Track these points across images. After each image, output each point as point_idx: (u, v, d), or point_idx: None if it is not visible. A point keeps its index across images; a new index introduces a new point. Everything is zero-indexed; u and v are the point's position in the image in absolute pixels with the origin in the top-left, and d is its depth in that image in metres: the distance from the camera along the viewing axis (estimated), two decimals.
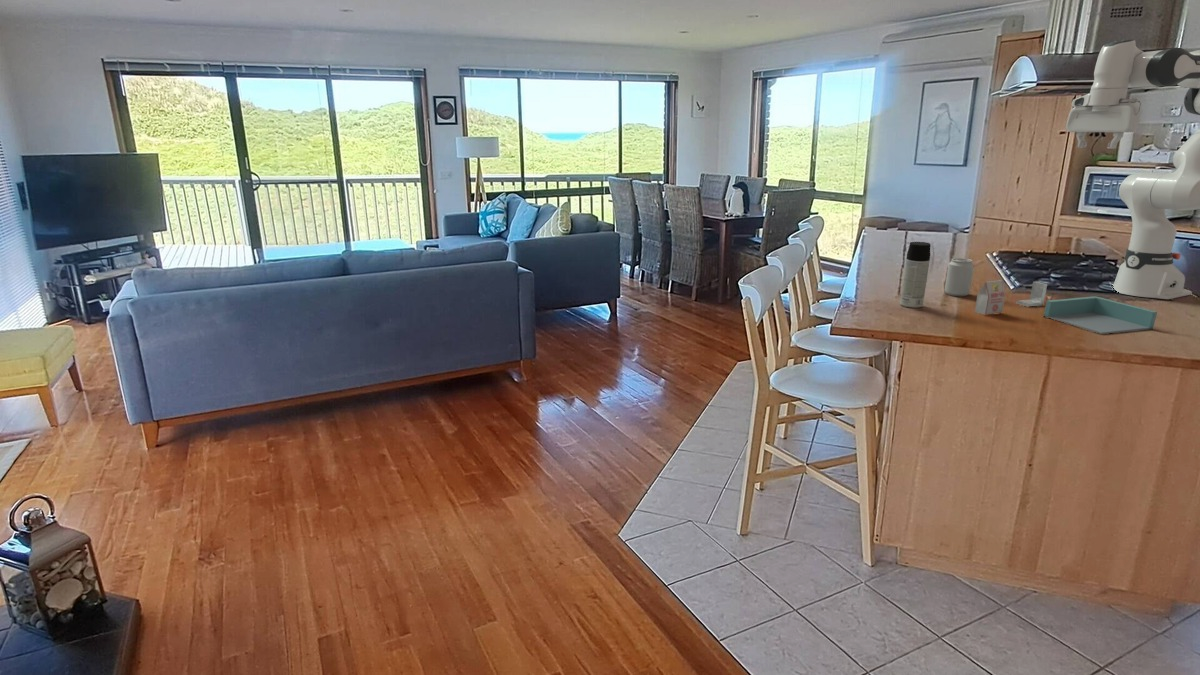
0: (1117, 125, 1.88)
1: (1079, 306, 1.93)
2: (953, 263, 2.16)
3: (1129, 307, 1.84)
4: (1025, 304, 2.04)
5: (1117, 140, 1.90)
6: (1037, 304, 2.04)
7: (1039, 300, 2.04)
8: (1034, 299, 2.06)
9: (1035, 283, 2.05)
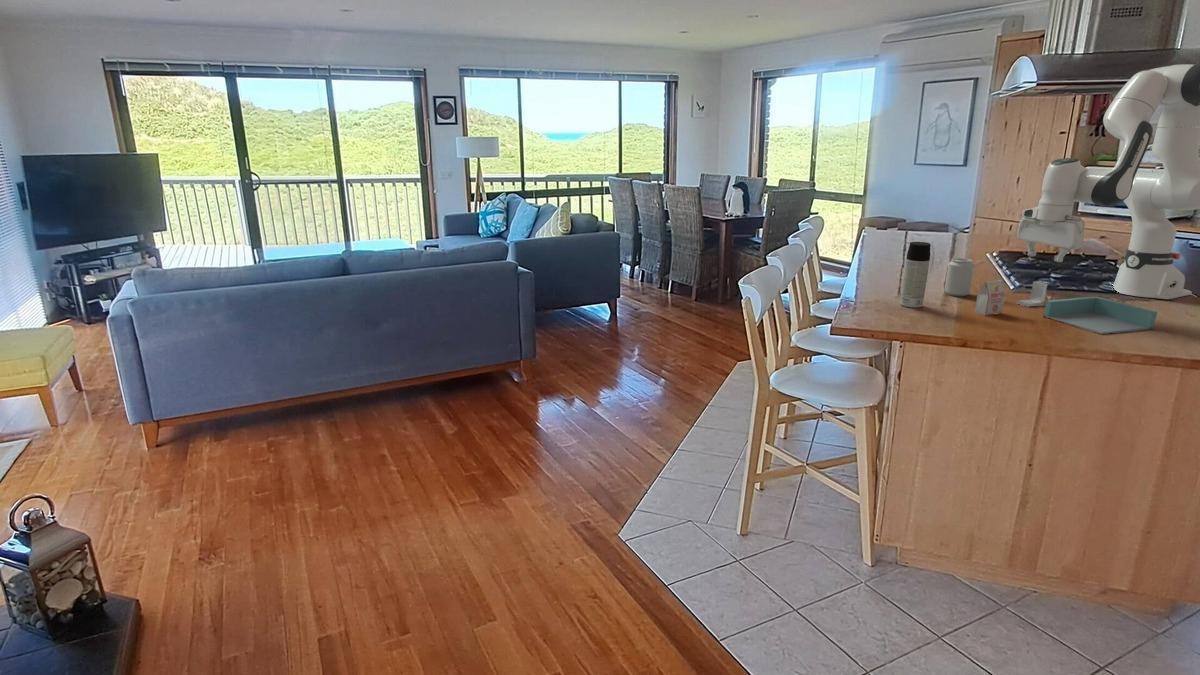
0: (1063, 241, 1.93)
1: (1079, 306, 1.93)
2: (953, 263, 2.16)
3: (1129, 307, 1.84)
4: (1025, 304, 2.04)
5: (1063, 254, 1.95)
6: (1037, 304, 2.04)
7: (1039, 300, 2.04)
8: (1034, 299, 2.06)
9: (1036, 283, 2.05)
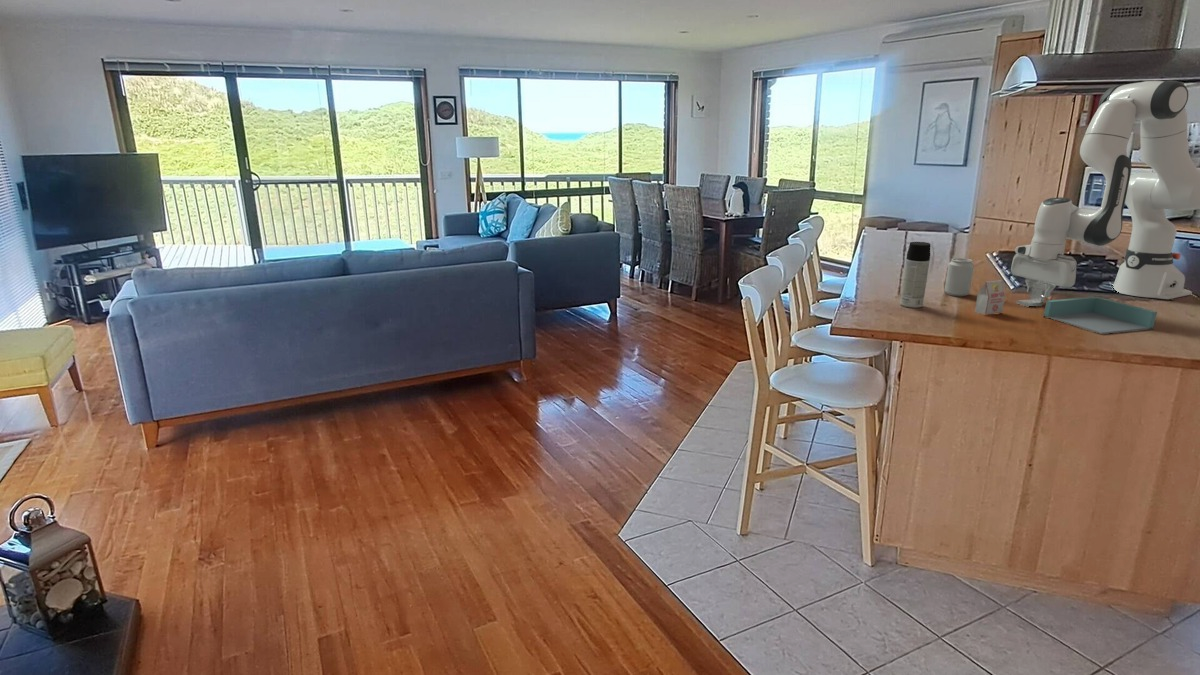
0: (1055, 279, 1.97)
1: (1079, 306, 1.93)
2: (953, 263, 2.16)
3: (1129, 307, 1.84)
4: (1025, 304, 2.04)
5: (1050, 290, 2.01)
6: (1037, 304, 2.04)
7: (1039, 300, 2.04)
8: (1034, 299, 2.06)
9: (1035, 283, 2.05)
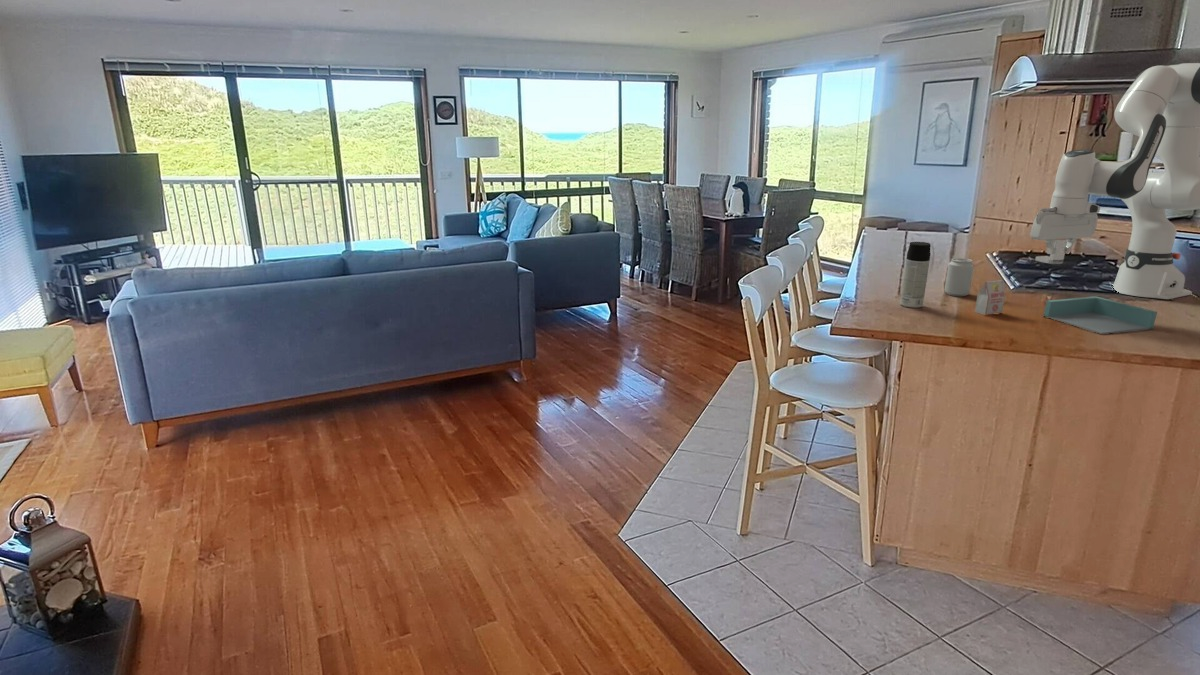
0: None
1: (1079, 306, 1.93)
2: (953, 263, 2.16)
3: (1129, 307, 1.84)
4: None
5: (1049, 246, 1.95)
6: (1045, 260, 1.98)
7: None
8: None
9: None
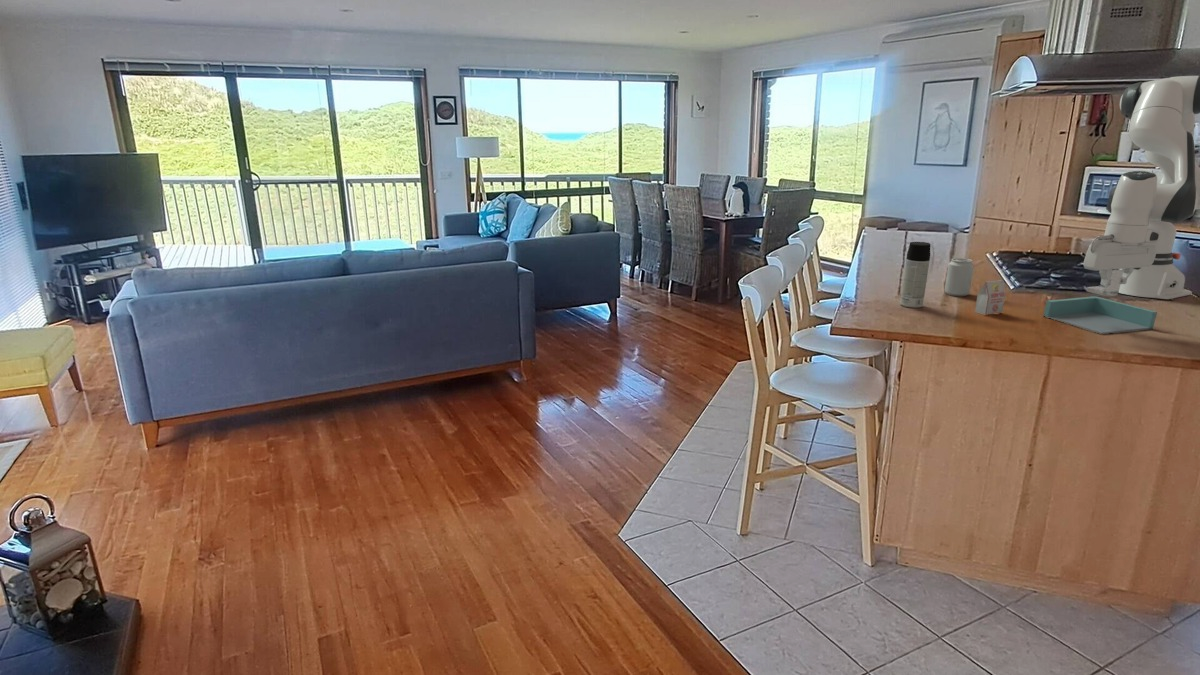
0: None
1: (1079, 306, 1.93)
2: (953, 263, 2.16)
3: (1129, 307, 1.84)
4: None
5: (1104, 277, 1.77)
6: (1099, 291, 1.81)
7: None
8: None
9: None
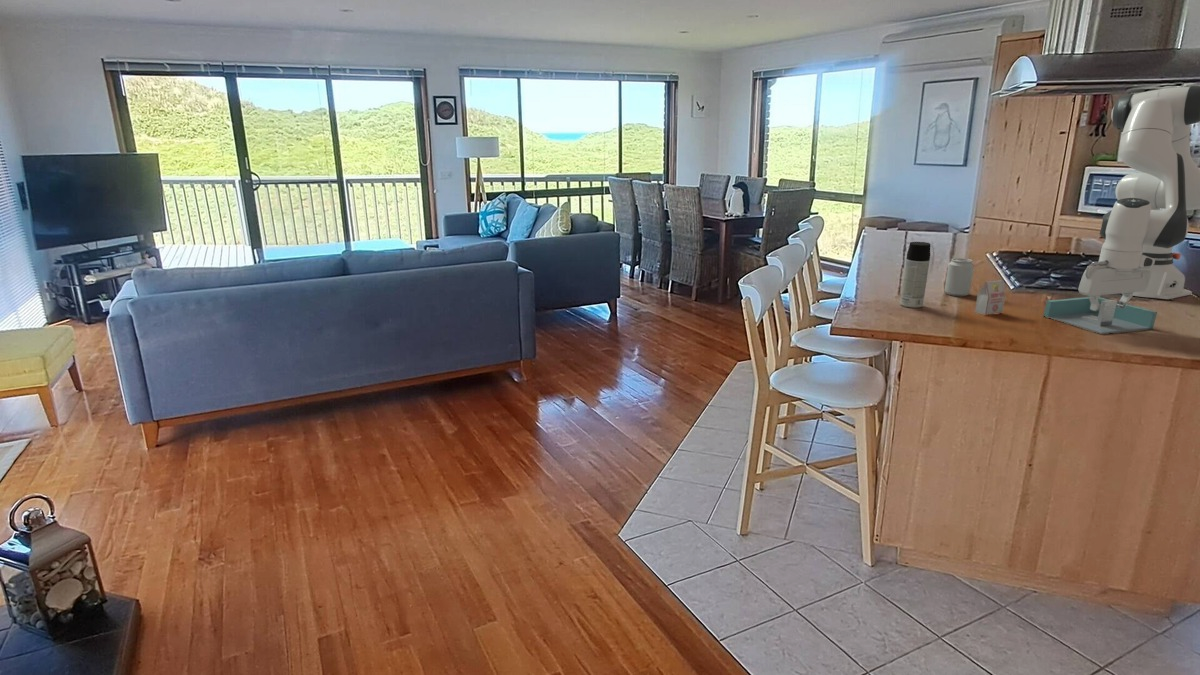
0: None
1: (1079, 306, 1.93)
2: (953, 263, 2.16)
3: (1129, 307, 1.84)
4: None
5: (1093, 302, 1.79)
6: (1092, 321, 1.83)
7: None
8: None
9: None
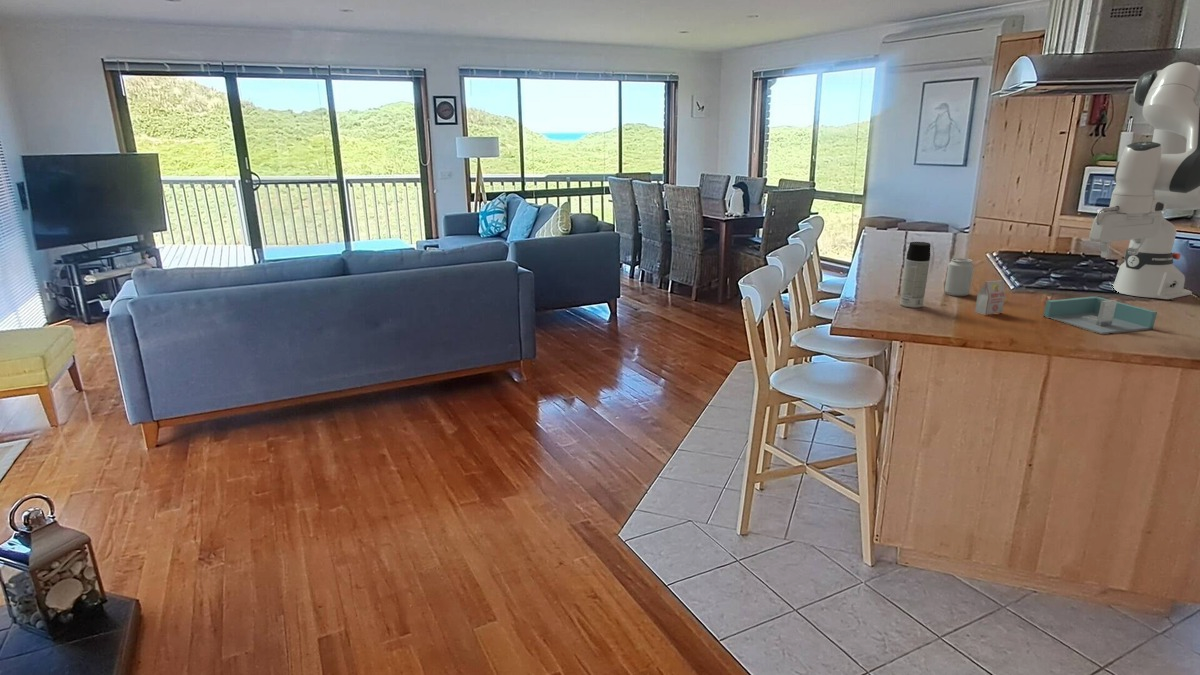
0: None
1: (1079, 306, 1.93)
2: (953, 263, 2.16)
3: (1129, 307, 1.84)
4: None
5: (1104, 249, 1.77)
6: (1092, 321, 1.83)
7: None
8: None
9: None
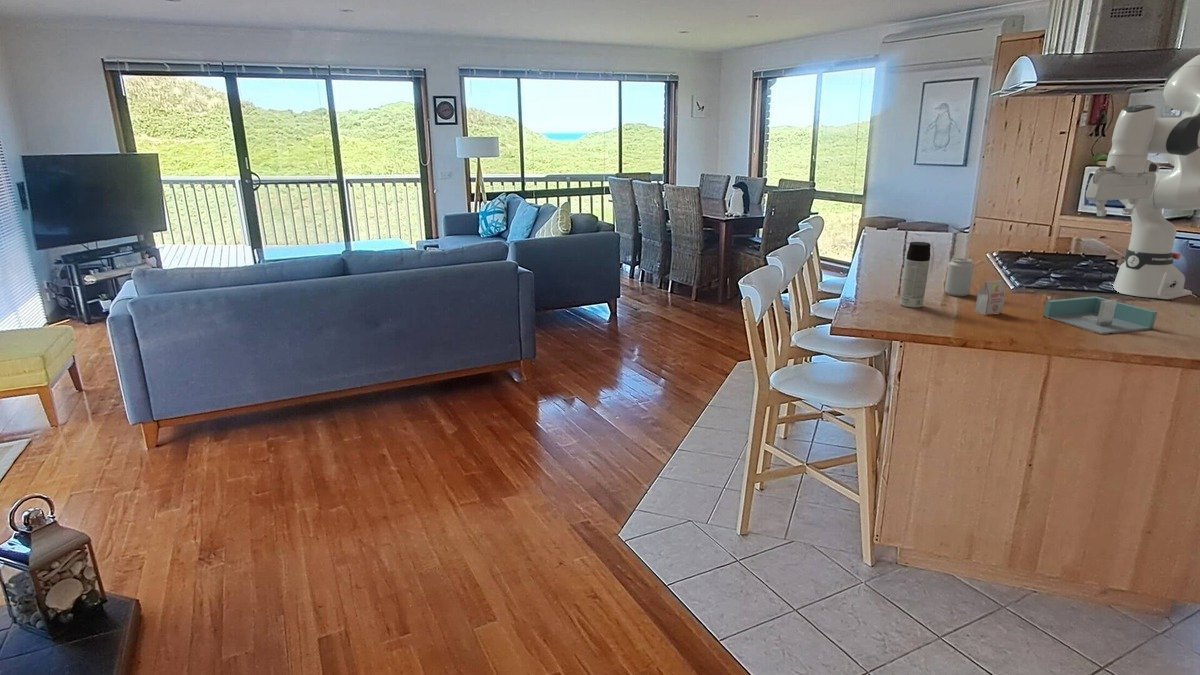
0: None
1: (1079, 306, 1.93)
2: (953, 263, 2.16)
3: (1129, 307, 1.84)
4: None
5: (1100, 208, 1.86)
6: (1092, 321, 1.83)
7: None
8: None
9: None
